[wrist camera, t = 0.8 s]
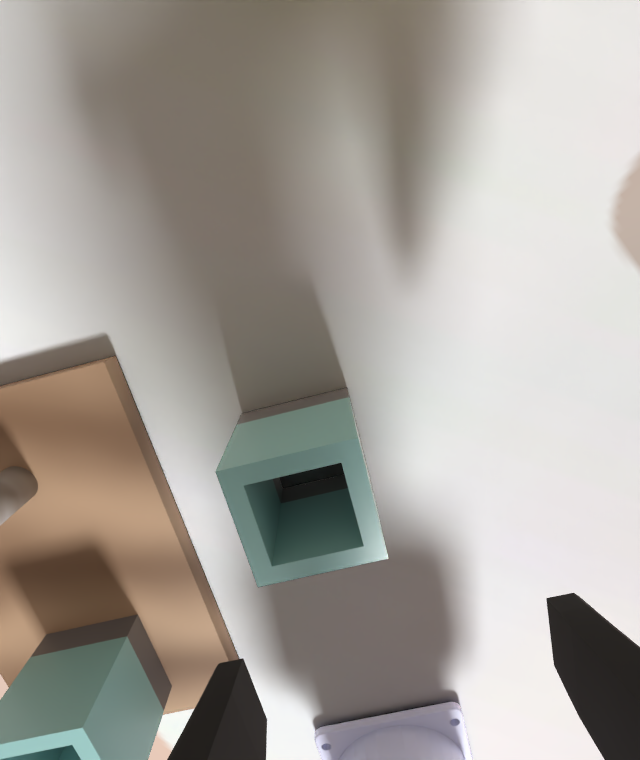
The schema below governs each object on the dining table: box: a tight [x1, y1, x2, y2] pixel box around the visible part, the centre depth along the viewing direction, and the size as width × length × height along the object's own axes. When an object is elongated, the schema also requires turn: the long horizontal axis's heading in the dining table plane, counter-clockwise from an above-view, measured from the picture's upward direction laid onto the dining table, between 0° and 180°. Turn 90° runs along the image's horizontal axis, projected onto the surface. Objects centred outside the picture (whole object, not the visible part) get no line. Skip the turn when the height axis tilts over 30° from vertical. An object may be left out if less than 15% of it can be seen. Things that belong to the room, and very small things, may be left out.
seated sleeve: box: [0, 614, 172, 760], centre depth 19 cm, size 5×5×5 cm
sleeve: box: [216, 388, 389, 587], centre depth 17 cm, size 5×5×5 cm
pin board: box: [0, 356, 239, 715], centre depth 19 cm, size 18×11×4 cm, turn 14°
